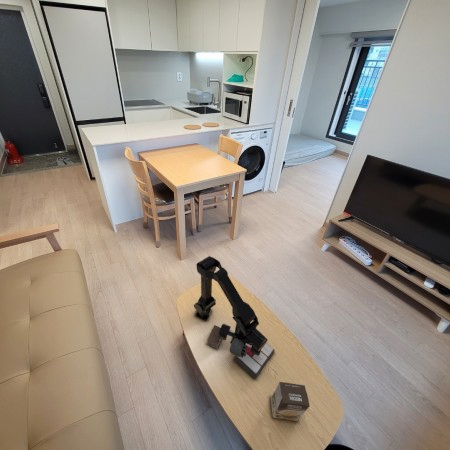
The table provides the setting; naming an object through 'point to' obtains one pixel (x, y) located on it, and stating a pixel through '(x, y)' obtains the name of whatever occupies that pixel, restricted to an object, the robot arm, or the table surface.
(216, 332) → the walnut block
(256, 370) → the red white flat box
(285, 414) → the coffee box
